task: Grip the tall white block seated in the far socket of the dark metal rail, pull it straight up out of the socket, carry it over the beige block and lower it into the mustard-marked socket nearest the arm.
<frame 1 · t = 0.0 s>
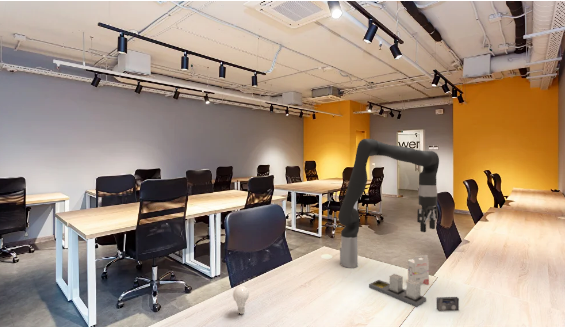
hand: (427, 230, 128), 29 cm above the table, fingers open, 8 cm apart
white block: (413, 300, 120), point 1 cm above the table, touching rail
ink cartridge box: (418, 284, 139), on the table
lightbulb: (241, 314, 113), on the table
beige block: (396, 293, 126), point 1 cm above the table, touching rail
mini dv tape: (447, 312, 113), on the table
rail: (396, 296, 126), on the table
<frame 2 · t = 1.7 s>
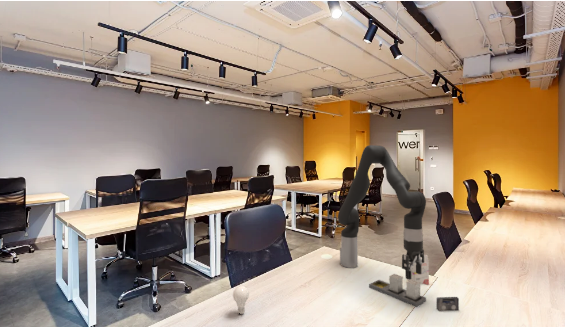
hand: (413, 276, 120), 12 cm above the table, fingers open, 8 cm apart
nothing on the table moved.
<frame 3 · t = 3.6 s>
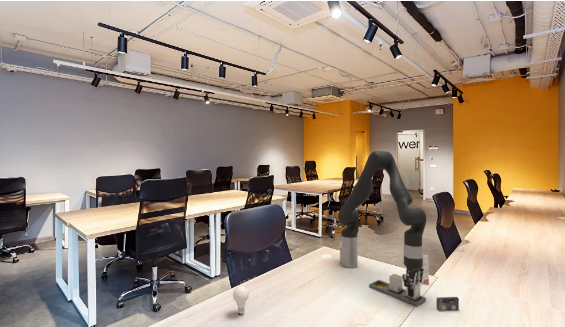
hand: (413, 294, 120), 4 cm above the table, fingers closed on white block, 4 cm apart
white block: (413, 300, 120), point 1 cm above the table, touching gripper, rail
everything else where it was.
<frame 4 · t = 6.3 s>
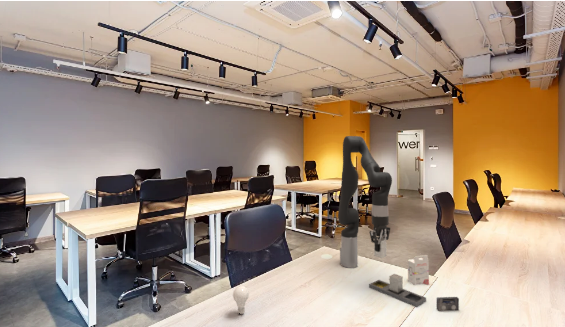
hand: (380, 250, 133), 19 cm above the table, fingers closed on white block, 4 cm apart
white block: (380, 255, 133), point 16 cm above the table, touching gripper
everything else where it was.
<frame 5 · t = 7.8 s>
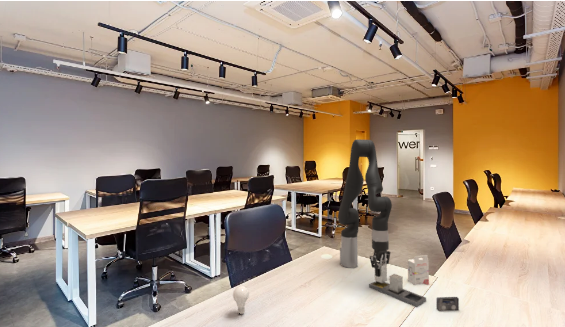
hand: (380, 274, 133), 7 cm above the table, fingers closed on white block, 4 cm apart
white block: (380, 280, 133), point 4 cm above the table, touching gripper
everything else where it was.
when the fingers open (4 cm above the table, at t = 9.1 s): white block stays where it is, resting on rail.
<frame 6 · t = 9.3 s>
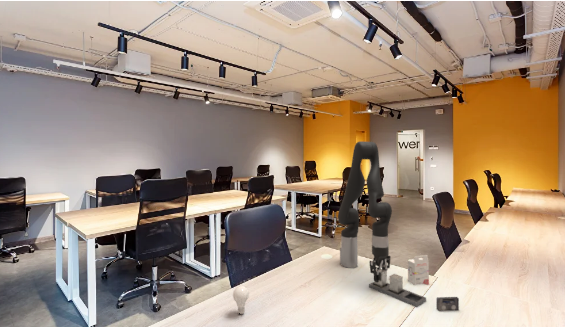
hand: (380, 279, 133), 5 cm above the table, fingers open, 6 cm apart
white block: (380, 287, 133), point 1 cm above the table, touching rail
everything else where it was.
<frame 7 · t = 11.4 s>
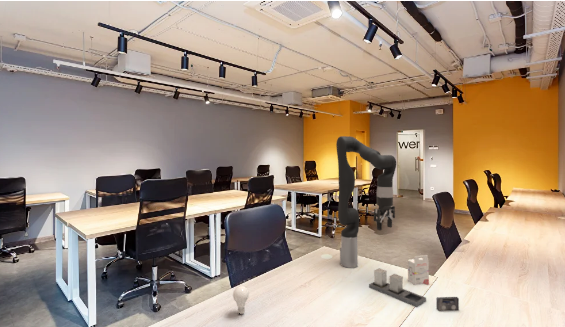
hand: (384, 228, 138), 28 cm above the table, fingers open, 8 cm apart
nothing on the table moved.
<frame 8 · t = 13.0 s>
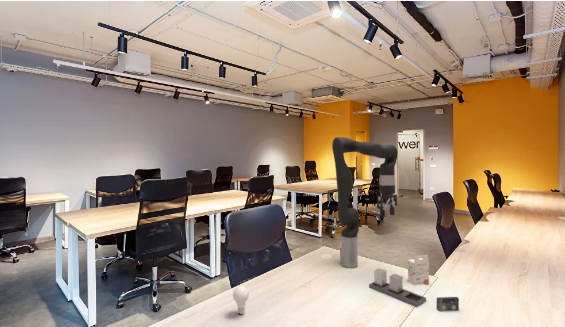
hand: (387, 216, 141), 33 cm above the table, fingers open, 8 cm apart
nothing on the table moved.
at the end: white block 0.0 cm from the target spot on the rail, point 1.1 cm above the rail's base; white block tilted 0°; the gripper is holding nothing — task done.
